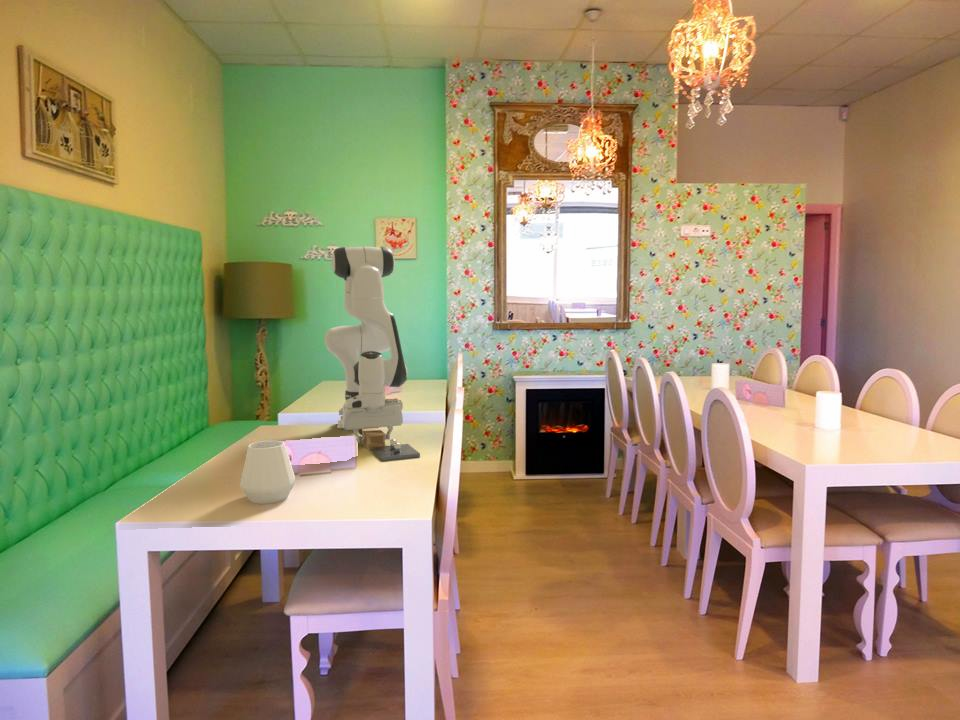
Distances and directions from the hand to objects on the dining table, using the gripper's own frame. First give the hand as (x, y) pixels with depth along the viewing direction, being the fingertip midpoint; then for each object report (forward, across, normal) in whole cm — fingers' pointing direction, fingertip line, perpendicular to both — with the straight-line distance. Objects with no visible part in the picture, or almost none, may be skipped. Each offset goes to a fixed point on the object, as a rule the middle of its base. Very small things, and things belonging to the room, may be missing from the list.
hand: (373, 440), depth 220 cm
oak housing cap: (+2, 0, 0) cm, 2 cm away
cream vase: (+2, +37, +44) cm, 58 cm away
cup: (+2, 0, -10) cm, 10 cm away
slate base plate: (+2, -4, +14) cm, 15 cm away
